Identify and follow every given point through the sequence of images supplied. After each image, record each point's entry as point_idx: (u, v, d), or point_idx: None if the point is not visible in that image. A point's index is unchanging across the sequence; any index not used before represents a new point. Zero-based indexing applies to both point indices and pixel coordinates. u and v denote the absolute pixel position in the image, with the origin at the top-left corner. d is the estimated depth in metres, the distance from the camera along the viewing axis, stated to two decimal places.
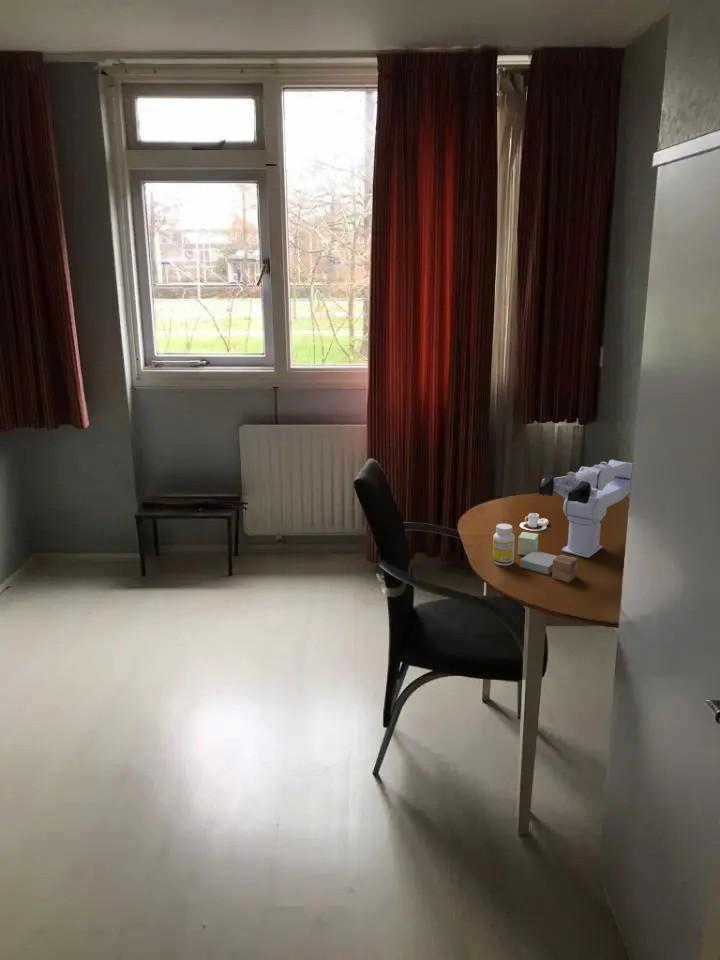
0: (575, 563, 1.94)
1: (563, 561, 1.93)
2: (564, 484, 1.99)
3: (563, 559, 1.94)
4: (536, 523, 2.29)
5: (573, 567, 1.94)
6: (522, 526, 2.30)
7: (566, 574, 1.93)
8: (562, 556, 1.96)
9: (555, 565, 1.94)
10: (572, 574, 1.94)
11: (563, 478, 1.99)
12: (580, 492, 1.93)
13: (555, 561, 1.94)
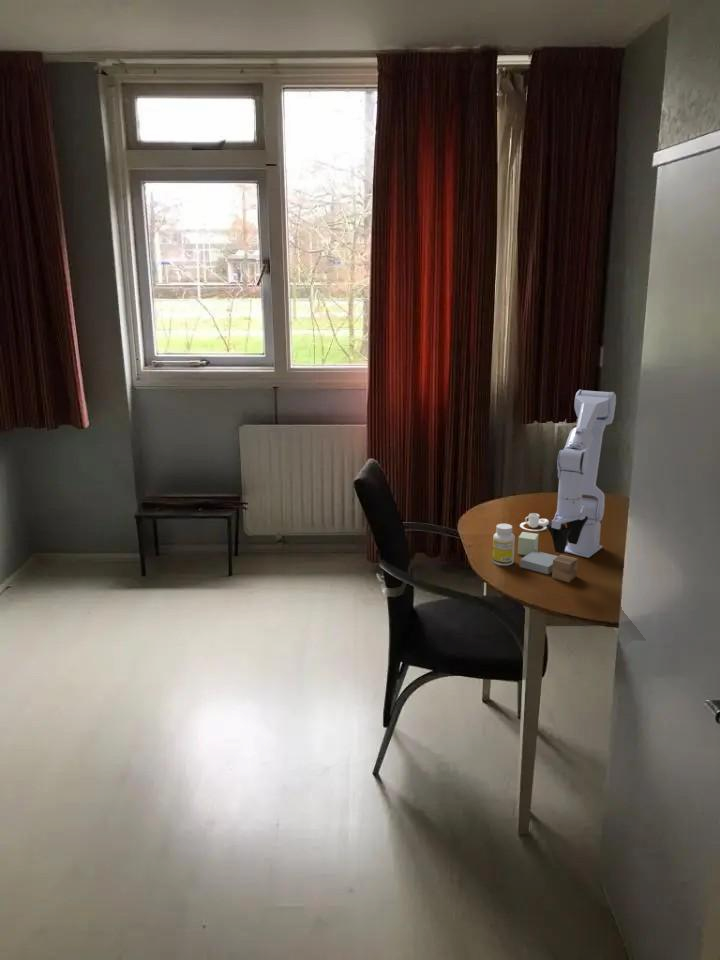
0: (575, 563, 1.94)
1: (563, 561, 1.93)
2: None
3: (563, 559, 1.94)
4: (536, 523, 2.29)
5: (573, 567, 1.94)
6: (522, 526, 2.30)
7: (566, 574, 1.93)
8: (562, 556, 1.96)
9: (555, 565, 1.94)
10: (572, 574, 1.94)
11: None
12: None
13: (555, 561, 1.94)
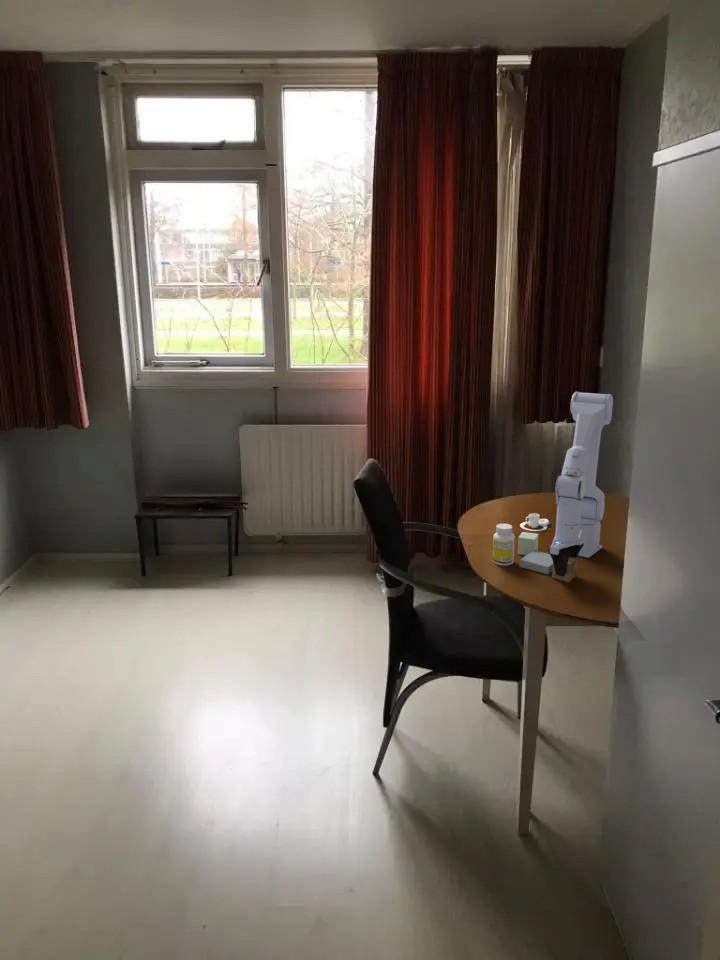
0: (575, 563, 1.94)
1: None
2: None
3: None
4: (537, 523, 2.29)
5: (573, 567, 1.94)
6: (523, 526, 2.30)
7: (566, 574, 1.93)
8: None
9: None
10: (572, 574, 1.94)
11: None
12: None
13: None
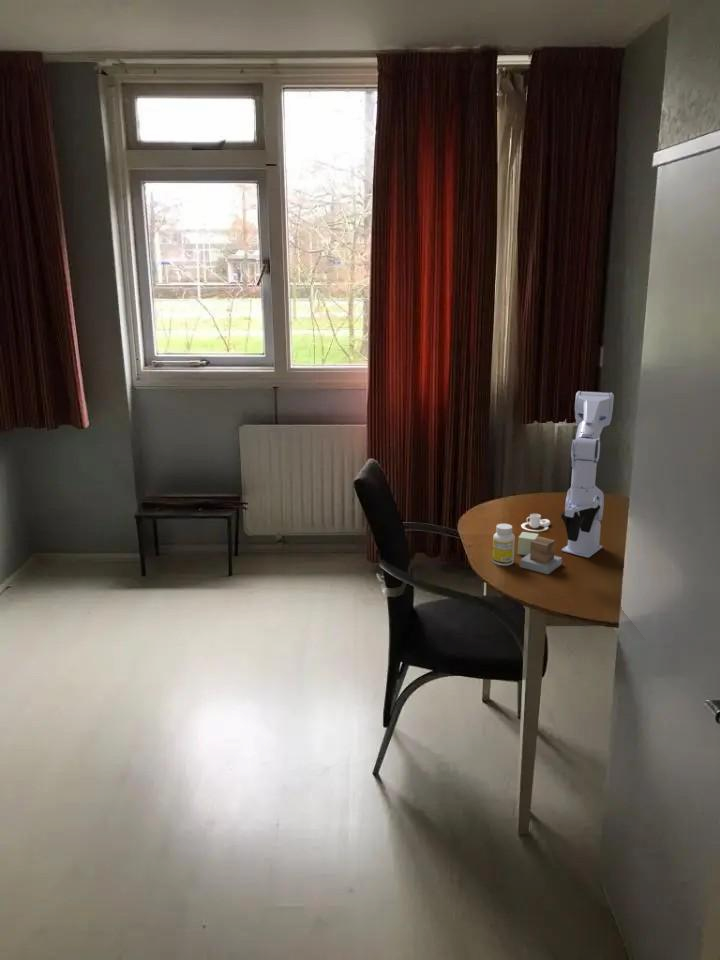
0: (552, 545, 2.00)
1: (540, 543, 1.99)
2: None
3: (541, 541, 2.01)
4: (538, 524, 2.29)
5: (550, 548, 2.00)
6: (524, 527, 2.30)
7: (543, 555, 1.99)
8: (540, 538, 2.02)
9: (532, 547, 2.01)
10: (549, 555, 2.00)
11: None
12: None
13: (533, 543, 2.00)
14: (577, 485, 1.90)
